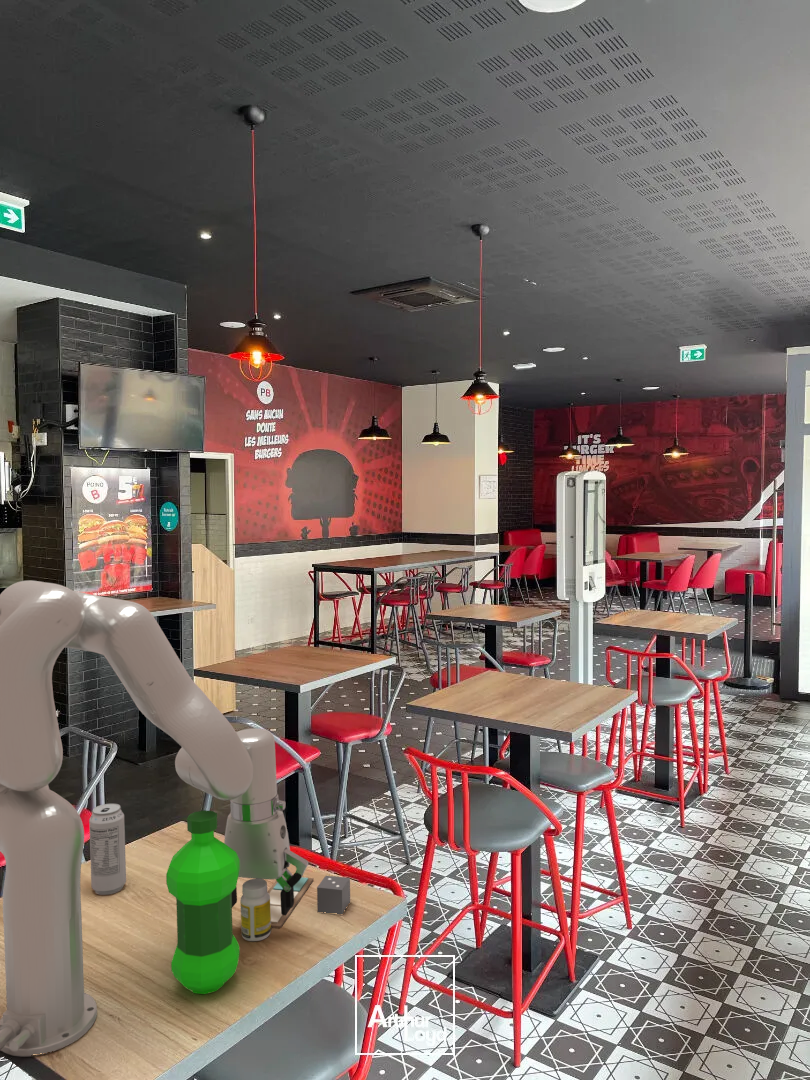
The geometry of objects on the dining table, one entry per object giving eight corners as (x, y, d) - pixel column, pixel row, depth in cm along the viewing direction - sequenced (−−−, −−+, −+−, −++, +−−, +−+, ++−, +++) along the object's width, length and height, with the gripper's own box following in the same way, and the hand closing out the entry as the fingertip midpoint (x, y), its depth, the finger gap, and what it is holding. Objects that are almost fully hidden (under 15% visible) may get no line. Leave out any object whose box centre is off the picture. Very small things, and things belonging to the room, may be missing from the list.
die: (342, 915, 136) (341, 889, 136) (317, 913, 137) (317, 886, 137) (350, 902, 140) (349, 877, 140) (326, 900, 141) (325, 874, 141)
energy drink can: (132, 881, 150) (129, 802, 149) (117, 897, 144) (114, 815, 143) (101, 880, 150) (98, 802, 150) (85, 895, 144) (82, 814, 144)
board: (280, 928, 132) (280, 924, 132) (243, 924, 133) (243, 920, 133) (313, 880, 149) (313, 876, 149) (280, 877, 150) (280, 873, 150)
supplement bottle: (274, 927, 132) (273, 877, 132) (266, 942, 128) (265, 891, 127) (246, 926, 133) (244, 876, 132) (237, 941, 128) (236, 890, 128)
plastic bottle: (219, 955, 124) (215, 797, 123) (255, 984, 117) (251, 816, 115) (158, 981, 118) (153, 815, 116) (192, 1014, 110) (187, 836, 109)
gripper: (312, 800, 131) (316, 901, 132) (214, 795, 135) (219, 893, 136) (297, 819, 124) (301, 925, 125) (194, 813, 128) (199, 916, 129)
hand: (258, 908), depth 131 cm, fingers open, 9 cm apart
